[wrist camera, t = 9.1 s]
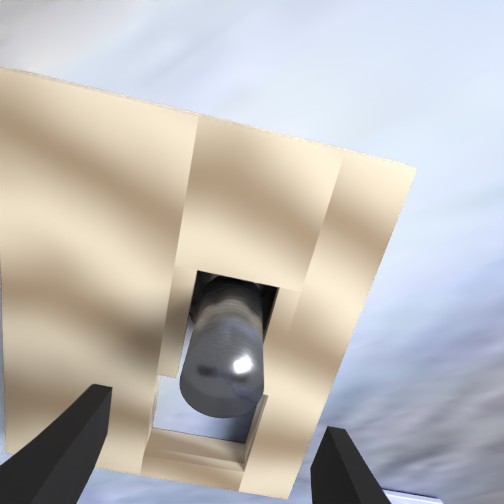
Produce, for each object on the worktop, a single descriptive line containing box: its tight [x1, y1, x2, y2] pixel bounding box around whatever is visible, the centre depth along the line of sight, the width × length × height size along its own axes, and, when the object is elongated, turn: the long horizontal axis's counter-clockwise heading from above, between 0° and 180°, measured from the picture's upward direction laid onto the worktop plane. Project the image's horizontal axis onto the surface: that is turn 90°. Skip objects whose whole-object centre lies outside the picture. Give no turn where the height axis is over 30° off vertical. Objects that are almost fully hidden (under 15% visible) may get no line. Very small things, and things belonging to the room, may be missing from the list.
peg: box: [180, 270, 278, 418], centre depth 17 cm, size 5×5×8 cm
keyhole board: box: [0, 68, 417, 499], centre depth 20 cm, size 22×18×2 cm
